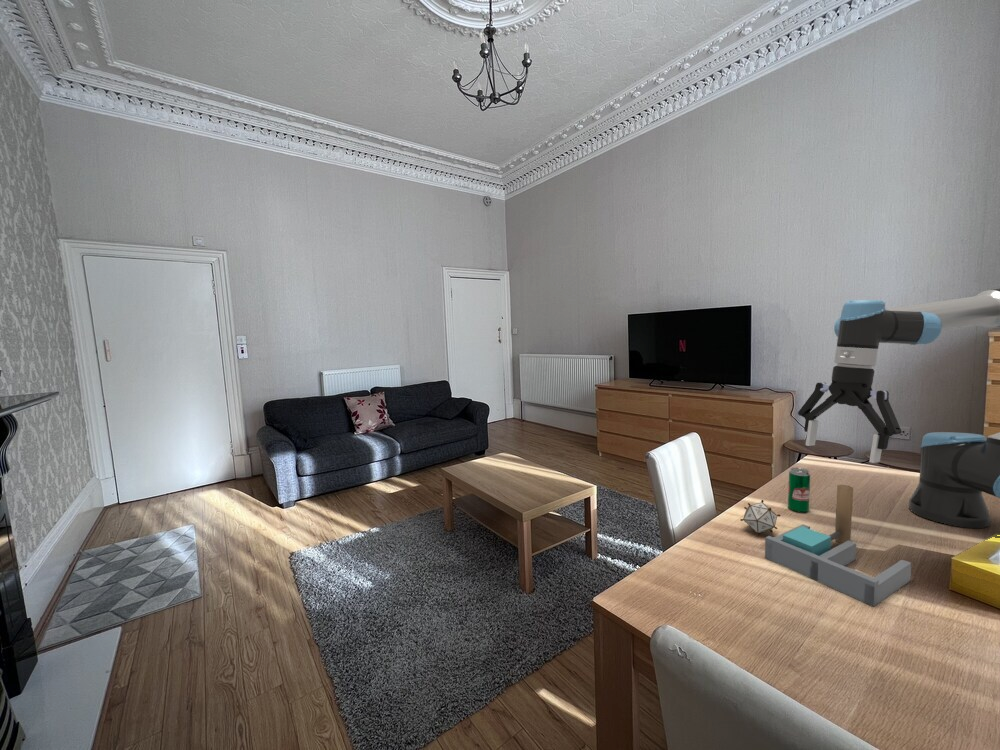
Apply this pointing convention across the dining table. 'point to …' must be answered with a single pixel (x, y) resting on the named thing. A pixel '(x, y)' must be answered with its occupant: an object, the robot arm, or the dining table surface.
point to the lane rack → (838, 569)
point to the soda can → (799, 489)
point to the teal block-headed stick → (822, 542)
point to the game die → (760, 517)
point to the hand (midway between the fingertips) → (840, 453)
